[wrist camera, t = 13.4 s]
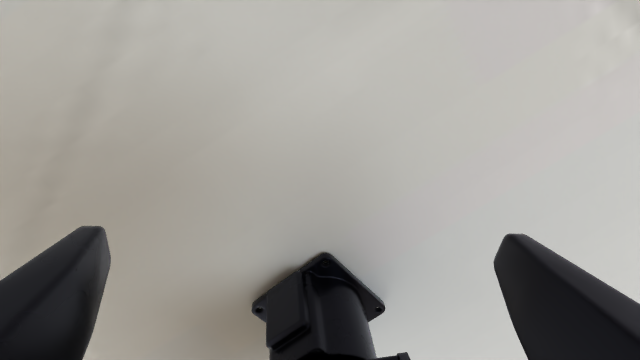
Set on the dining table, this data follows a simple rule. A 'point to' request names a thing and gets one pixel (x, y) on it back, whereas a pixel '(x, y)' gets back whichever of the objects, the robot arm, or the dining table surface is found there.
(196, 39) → the dining table surface
